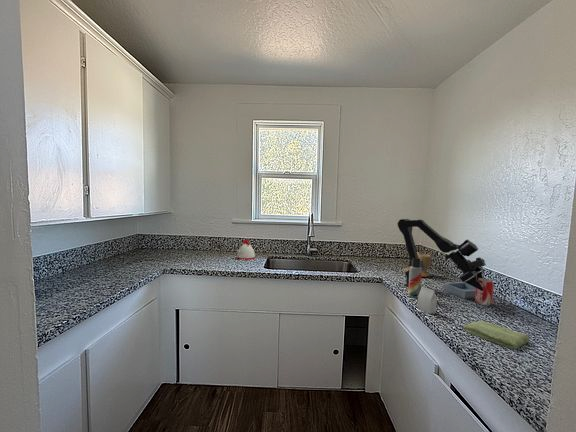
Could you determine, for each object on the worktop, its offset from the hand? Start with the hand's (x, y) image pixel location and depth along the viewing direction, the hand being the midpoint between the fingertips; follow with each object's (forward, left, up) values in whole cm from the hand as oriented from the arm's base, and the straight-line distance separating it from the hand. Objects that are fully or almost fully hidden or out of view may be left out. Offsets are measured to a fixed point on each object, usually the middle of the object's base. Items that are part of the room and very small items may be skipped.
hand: (485, 288), depth 142 cm
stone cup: (+5, +52, -8) cm, 53 cm away
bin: (+3, +14, -8) cm, 16 cm away
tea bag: (-34, -1, -8) cm, 35 cm away
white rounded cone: (-101, +119, -8) cm, 157 cm away
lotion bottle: (-27, +16, -8) cm, 33 cm away
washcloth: (-27, -28, -8) cm, 40 cm away
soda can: (0, 0, -8) cm, 8 cm away
